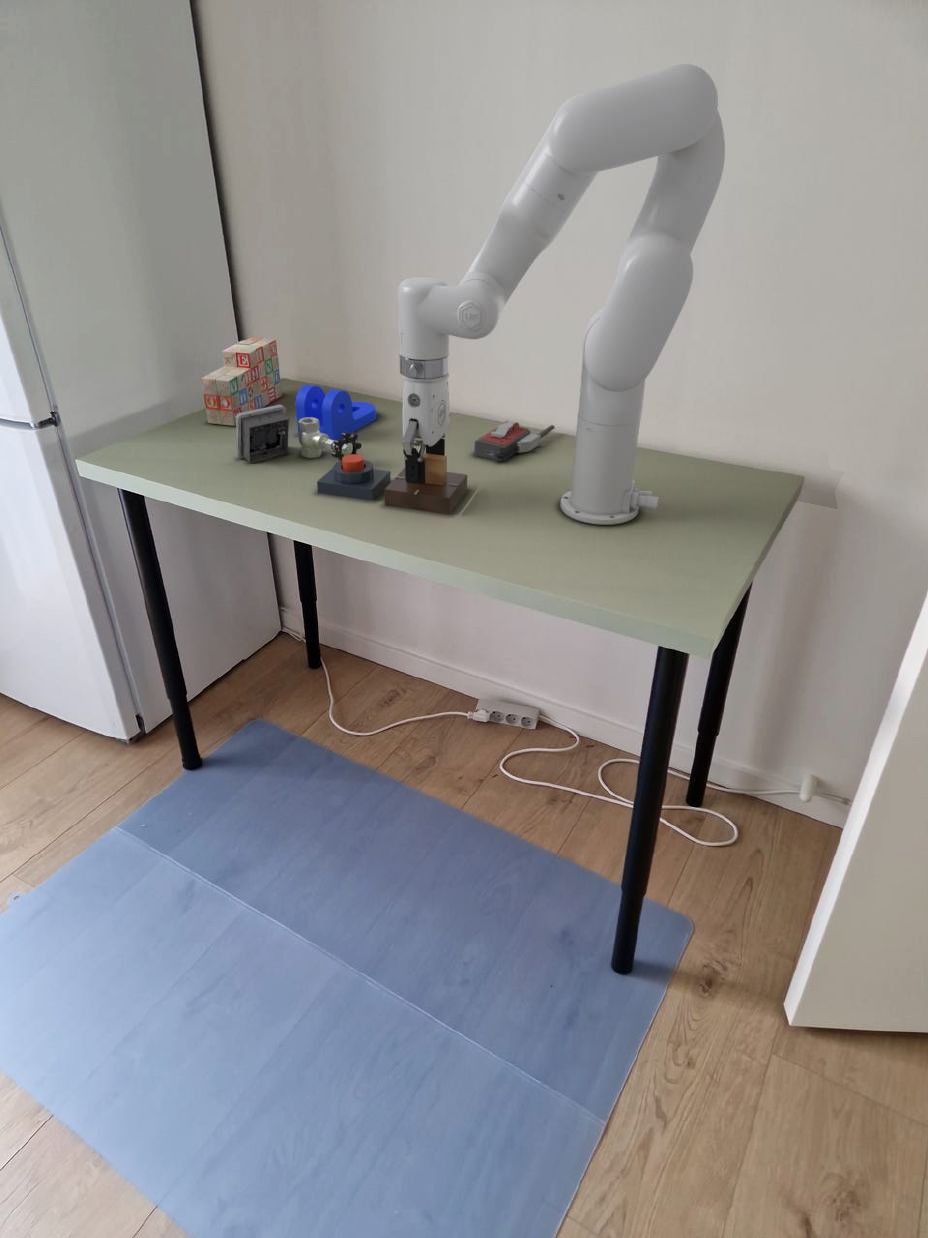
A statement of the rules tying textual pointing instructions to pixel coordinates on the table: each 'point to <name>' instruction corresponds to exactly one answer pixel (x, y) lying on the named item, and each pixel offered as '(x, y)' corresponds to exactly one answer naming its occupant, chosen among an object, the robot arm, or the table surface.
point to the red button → (353, 462)
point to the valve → (323, 440)
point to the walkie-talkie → (507, 441)
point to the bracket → (333, 410)
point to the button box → (354, 482)
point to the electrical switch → (262, 433)
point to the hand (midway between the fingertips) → (425, 471)
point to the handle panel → (426, 494)
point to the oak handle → (435, 469)
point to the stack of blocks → (242, 381)
